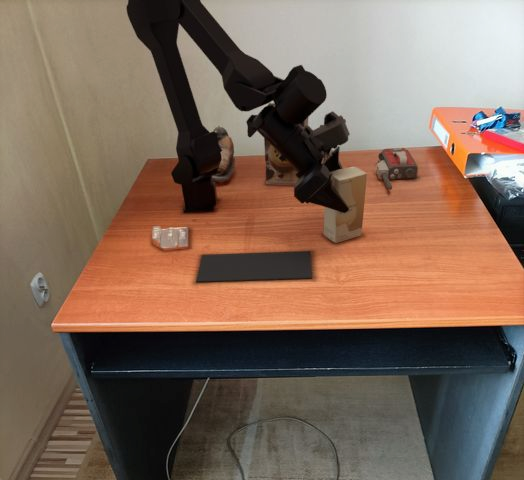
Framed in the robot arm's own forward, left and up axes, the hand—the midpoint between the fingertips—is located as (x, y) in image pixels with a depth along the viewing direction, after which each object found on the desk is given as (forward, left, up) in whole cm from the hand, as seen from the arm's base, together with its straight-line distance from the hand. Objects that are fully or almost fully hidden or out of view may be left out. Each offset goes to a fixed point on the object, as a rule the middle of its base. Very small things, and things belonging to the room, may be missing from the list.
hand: (349, 199), depth 94 cm
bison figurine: (-27, +32, -7) cm, 42 cm away
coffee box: (-11, +28, -7) cm, 31 cm away
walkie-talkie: (+14, +28, -7) cm, 32 cm away
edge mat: (-17, -10, -7) cm, 21 cm away
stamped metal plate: (-34, +1, -7) cm, 35 cm away
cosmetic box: (-1, 0, -7) cm, 7 cm away
